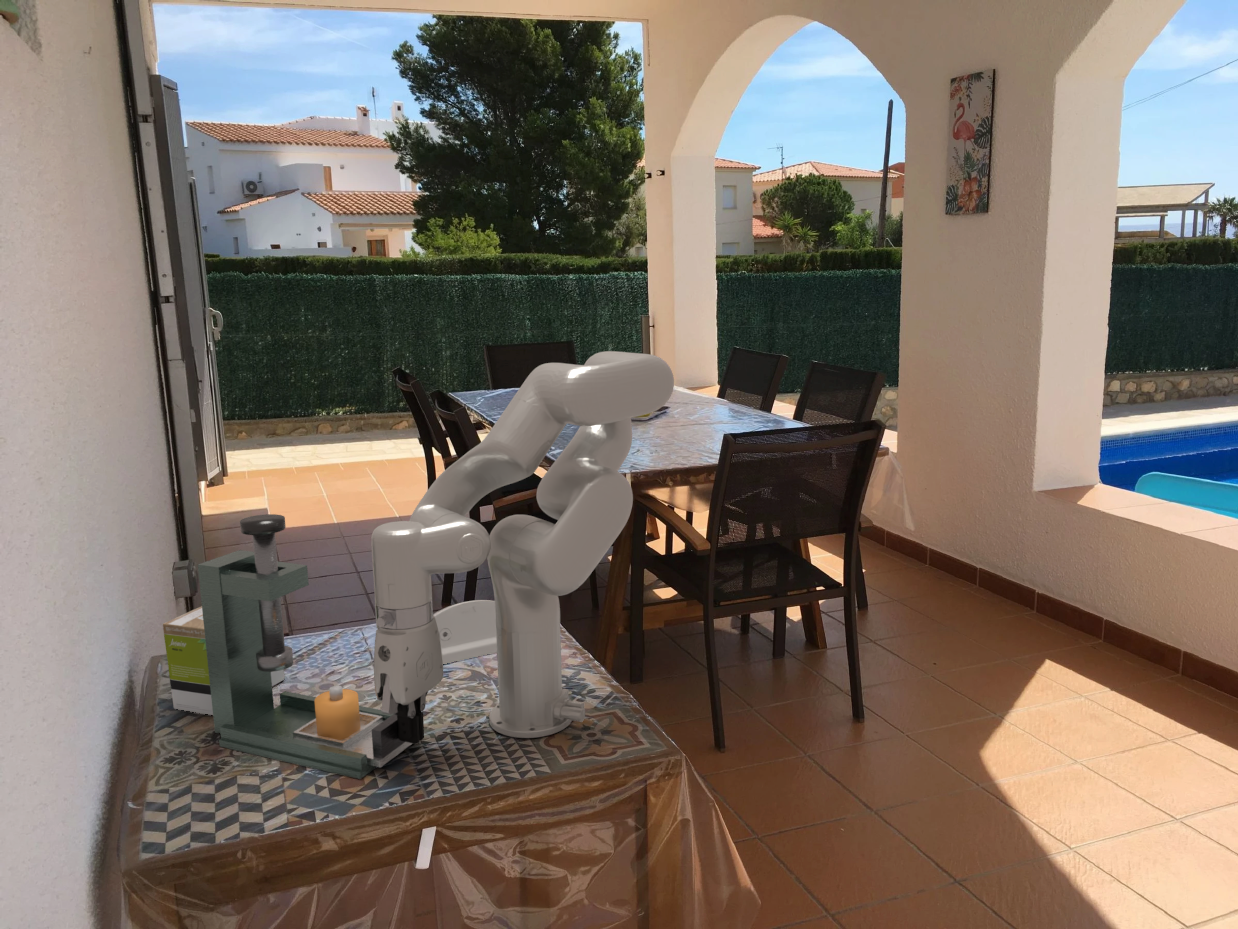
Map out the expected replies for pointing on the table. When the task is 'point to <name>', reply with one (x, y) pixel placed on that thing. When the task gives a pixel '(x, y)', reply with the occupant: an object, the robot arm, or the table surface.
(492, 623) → the hinge
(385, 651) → the robot arm
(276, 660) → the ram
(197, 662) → the tea box
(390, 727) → the sliding bed
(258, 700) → the press
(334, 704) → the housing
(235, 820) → the table surface
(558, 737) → the table surface
